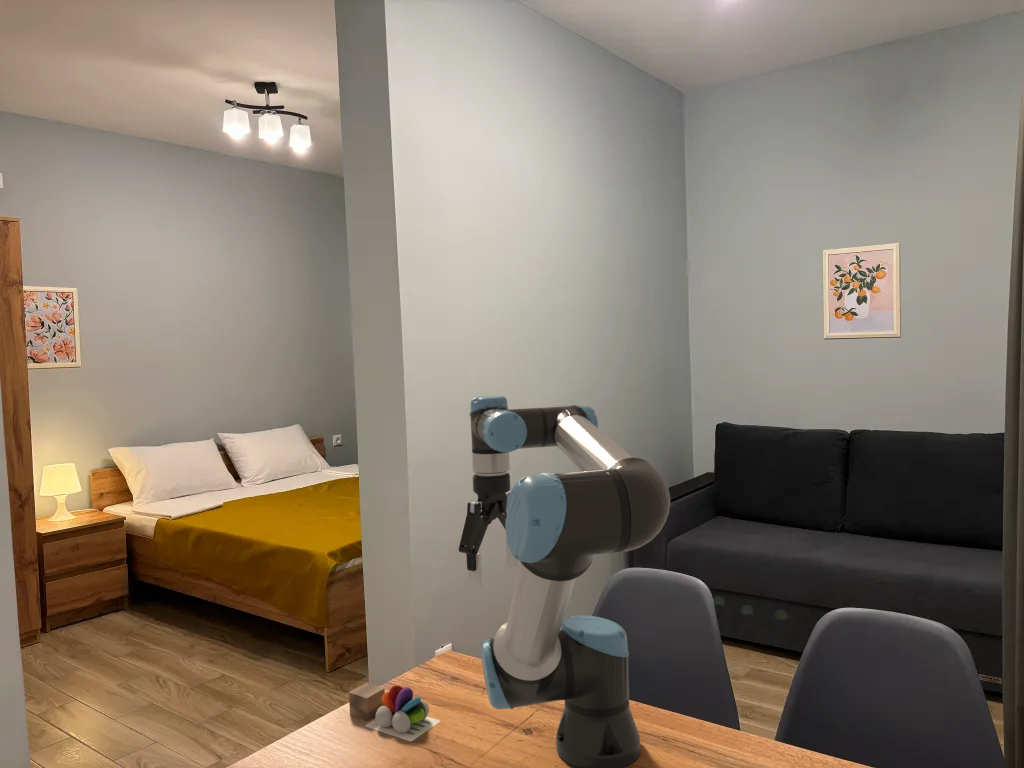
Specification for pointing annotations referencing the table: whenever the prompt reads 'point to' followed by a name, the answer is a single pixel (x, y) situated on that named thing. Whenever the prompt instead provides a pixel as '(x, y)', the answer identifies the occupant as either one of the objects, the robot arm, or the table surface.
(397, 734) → the letter
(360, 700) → the walnut block
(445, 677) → the table surface
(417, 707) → the rainbow petal toy
